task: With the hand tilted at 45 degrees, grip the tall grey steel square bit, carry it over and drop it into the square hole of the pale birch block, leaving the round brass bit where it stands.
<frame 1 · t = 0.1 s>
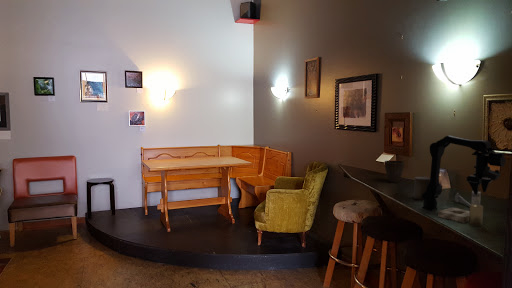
hand: (480, 193, 210), 15 cm above the bar counter, tool pointing down, fingers open, 9 cm apart
round bit: (475, 224, 204), on the bar counter
bore block: (457, 217, 216), on the bar counter
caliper: (465, 206, 241), on the bar counter
plant pot: (393, 181, 312), on the bar counter
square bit: (475, 214, 221), on the bar counter
pillar candle: (421, 198, 259), on the bar counter
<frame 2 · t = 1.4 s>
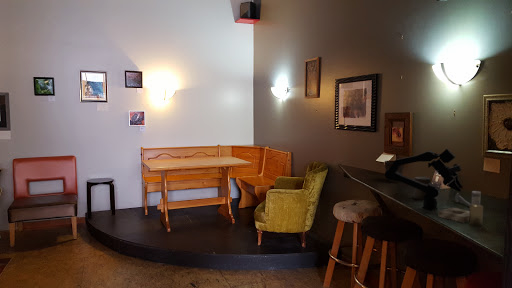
hand: (461, 189, 224), 13 cm above the bar counter, tool tilted 45°, fingers open, 9 cm apart
nothing on the bar counter moved.
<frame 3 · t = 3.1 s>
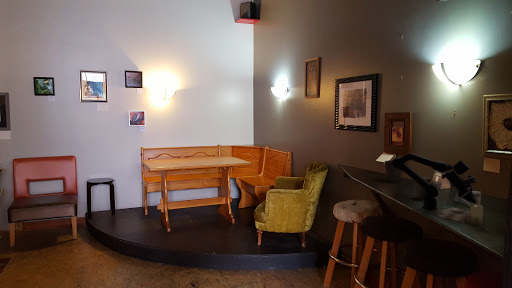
hand: (476, 201, 220), 8 cm above the bar counter, tool tilted 45°, fingers open, 9 cm apart
nothing on the bar counter moved.
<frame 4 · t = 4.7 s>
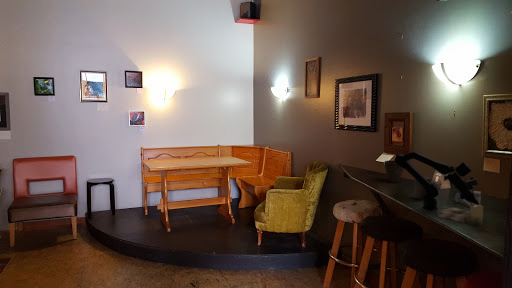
hand: (478, 203, 220), 7 cm above the bar counter, tool tilted 45°, fingers closed on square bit, 4 cm apart
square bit: (475, 214, 221), on the bar counter, touching gripper
everything else where it was.
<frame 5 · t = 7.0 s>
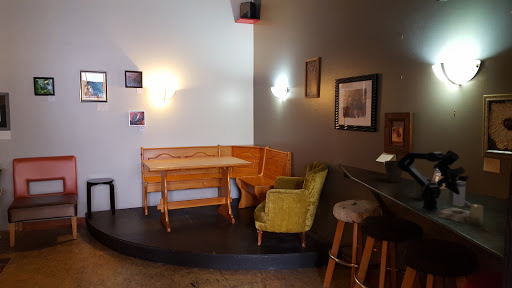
hand: (461, 193, 214), 13 cm above the bar counter, tool tilted 45°, fingers closed on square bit, 4 cm apart
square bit: (458, 205, 216), point 7 cm above the bar counter, touching gripper
everything else where it was.
when the fingers open (7 cm above the bar counter, at t = 9.5 s): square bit stays where it is, resting in bore block.
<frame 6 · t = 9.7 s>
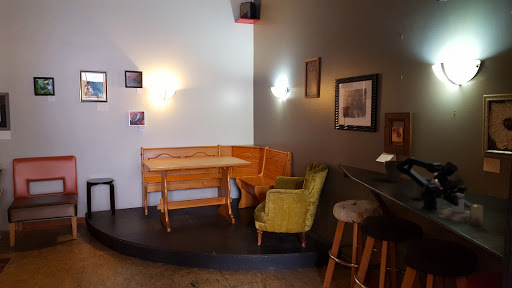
hand: (460, 205, 214), 7 cm above the bar counter, tool tilted 45°, fingers open, 6 cm apart
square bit: (457, 217, 216), resting in bore block
everything else where it was.
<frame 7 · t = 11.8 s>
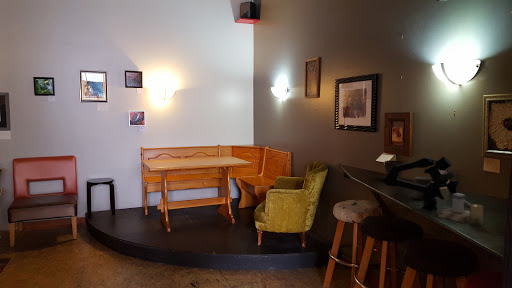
hand: (450, 198, 220), 9 cm above the bar counter, tool tilted 45°, fingers open, 9 cm apart
nothing on the bar counter moved.
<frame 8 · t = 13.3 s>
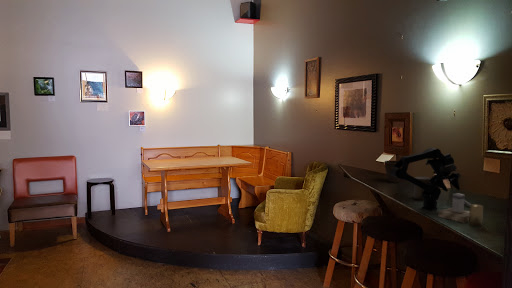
hand: (453, 190, 221), 14 cm above the bar counter, tool tilted 45°, fingers open, 9 cm apart
nothing on the bar counter moved.
at the end: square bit 0.0 cm from the bore block (horizontally); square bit resting in bore block; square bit tilted 0° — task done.
